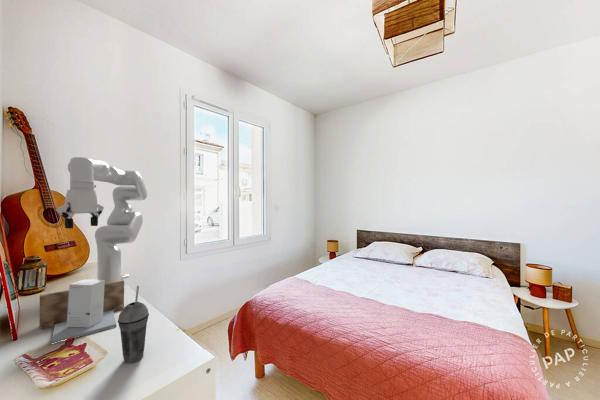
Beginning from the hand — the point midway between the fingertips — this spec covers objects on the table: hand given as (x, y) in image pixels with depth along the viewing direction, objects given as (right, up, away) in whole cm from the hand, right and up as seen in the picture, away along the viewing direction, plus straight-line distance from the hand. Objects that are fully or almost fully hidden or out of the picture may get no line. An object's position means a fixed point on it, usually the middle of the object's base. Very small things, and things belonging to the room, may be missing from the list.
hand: (82, 227), depth 102 cm
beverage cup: (+46, -33, -34) cm, 66 cm away
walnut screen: (+10, -33, -9) cm, 36 cm away
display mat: (+17, -33, -18) cm, 41 cm away
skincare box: (+17, -32, -17) cm, 41 cm away
